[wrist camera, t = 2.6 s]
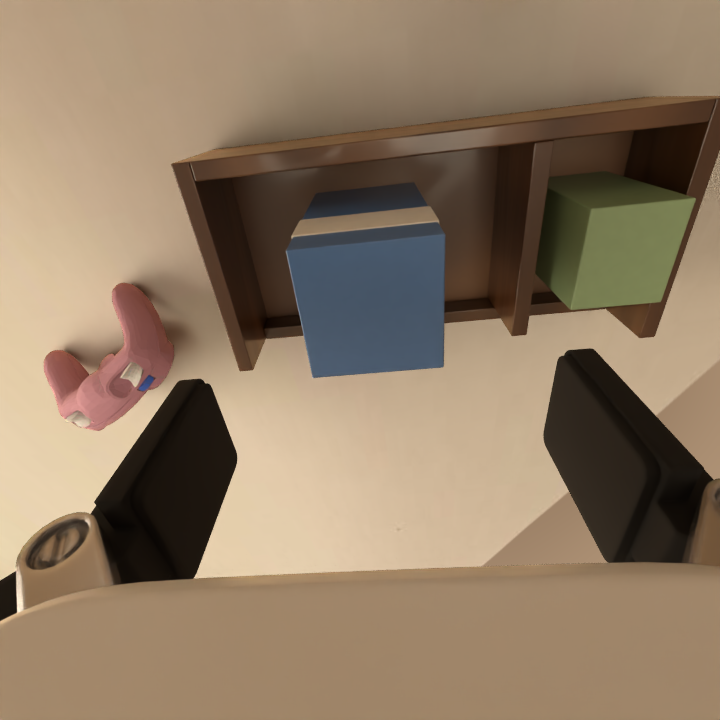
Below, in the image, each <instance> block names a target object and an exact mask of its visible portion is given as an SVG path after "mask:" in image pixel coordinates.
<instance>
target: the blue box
mask: <svg viewBox="0 0 720 720" xmlns="http://www.w3.org/2000/svg"><path fill="white" fill-rule="evenodd" d="M291 238H292V240H291V242H290V244H289V246H288V248H287V250H286V254H287V259H288V264H289V268H290V273H291V278H292V282H293V287H294V292H295V297H296V301H297V306H298V311H299V316H300V320H301V325H302V330H303V334H304V339H305V344H306V349H307V353H308V358H309V363H310V368H311V372H312V377H313V378H318V377H330V376H342V375H355V374H367V373H379V372H392V371H404V370H416V369H429V368H441V367H443V366H444V305H445V233H444V232H443V230H442V228H441V227H440V225H439V219H438V218H437V216H436V215H435V213H434V211H433V210H432V208H431V207H430V206H428V205H427V203H426V202H425V200H424V198H423V197H422V195H421V193H420V192H419V190H418V188H417V187H416V185H415V183H414V182H412V183H404V184H395V185H386V186H377V187H368V188H359V189H350V190H341V191H332V192H323V193H316V194H315V196H314V198H313V200H312V201H311V203H310V205H309V207H308V209H307V211H306V213H305V215H304V217H303V219H302V220H300V221H299V223H298V225H297V226H296V228H295V230H294V232H293V234H292V236H291Z"/></svg>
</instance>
